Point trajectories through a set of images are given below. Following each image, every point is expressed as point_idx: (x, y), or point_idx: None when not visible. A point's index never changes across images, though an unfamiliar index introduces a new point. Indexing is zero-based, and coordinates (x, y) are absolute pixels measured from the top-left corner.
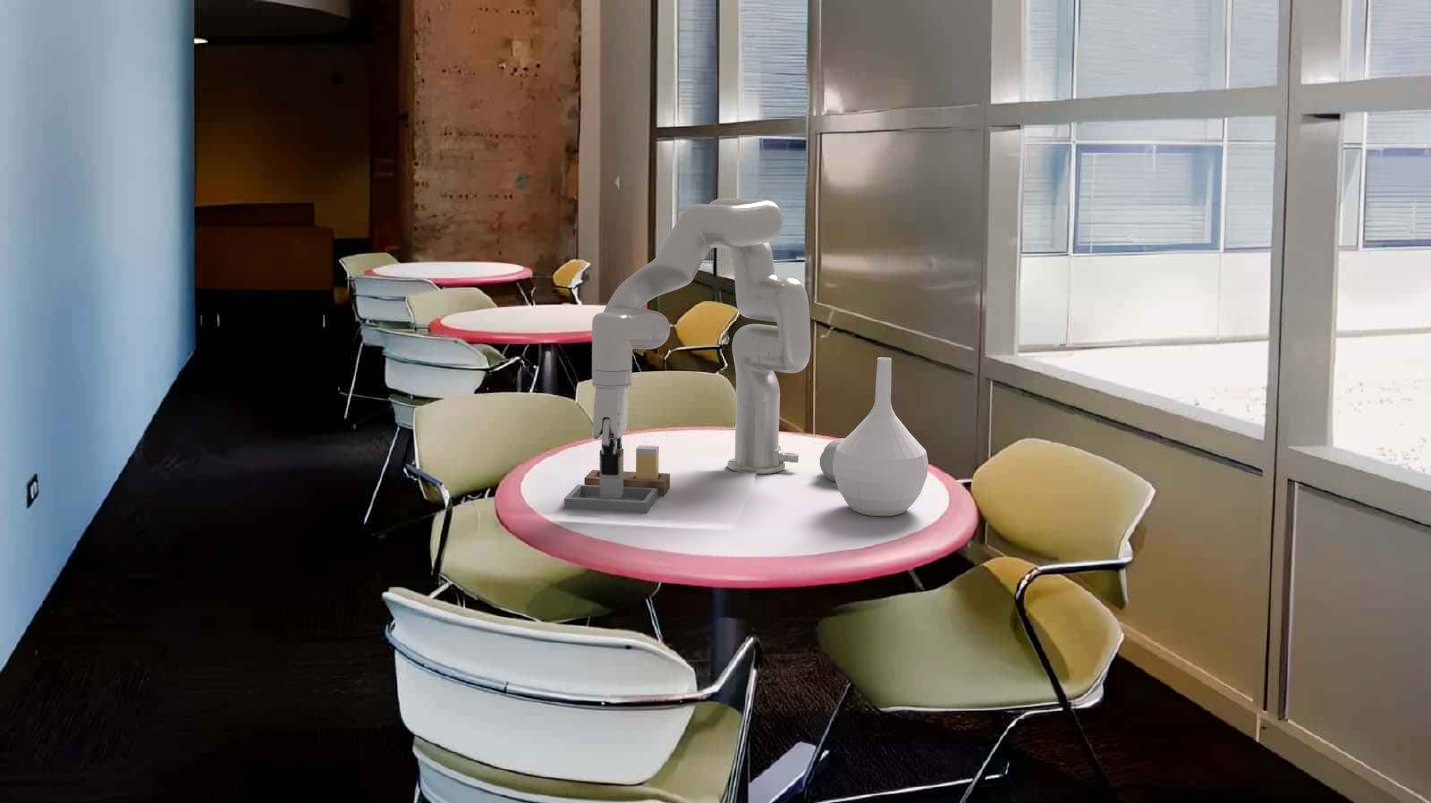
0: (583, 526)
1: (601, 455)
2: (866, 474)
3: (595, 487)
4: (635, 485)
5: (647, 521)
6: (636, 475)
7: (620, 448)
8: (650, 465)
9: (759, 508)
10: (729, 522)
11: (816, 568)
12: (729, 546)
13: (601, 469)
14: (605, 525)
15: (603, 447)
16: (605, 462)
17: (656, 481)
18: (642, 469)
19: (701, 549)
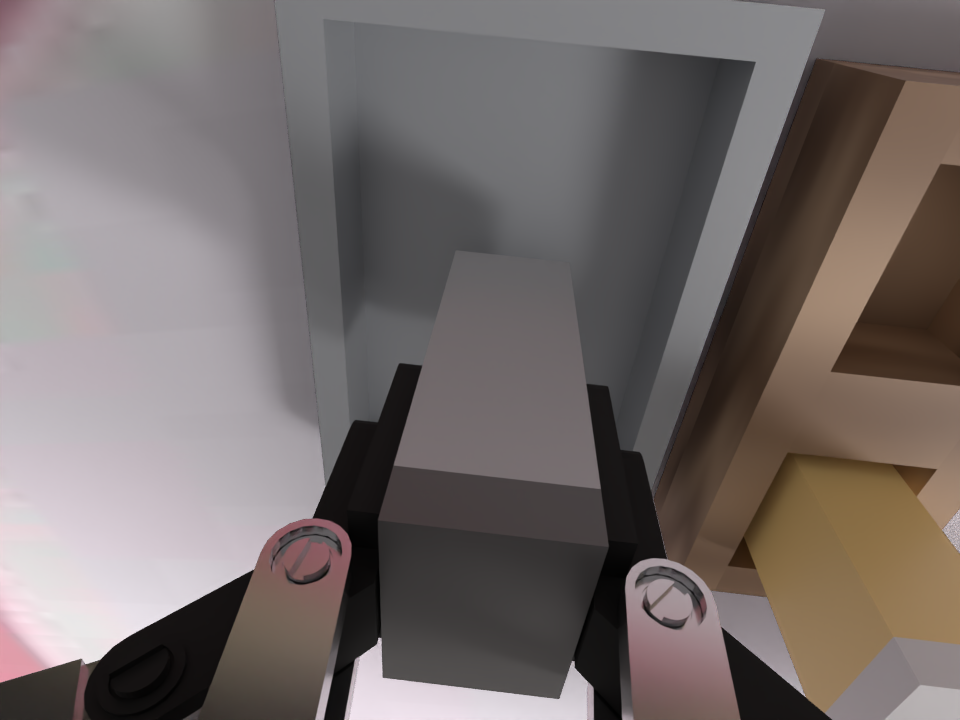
0: (86, 161)
1: (352, 498)
2: None
3: (712, 194)
4: (717, 445)
5: (302, 448)
6: (805, 485)
7: (562, 681)
8: (798, 613)
9: (551, 713)
10: (368, 652)
11: None
12: (111, 638)
13: (391, 386)
14: (162, 280)
15: (56, 670)
16: (332, 479)
17: (689, 558)
18: (806, 550)
19: (38, 585)
